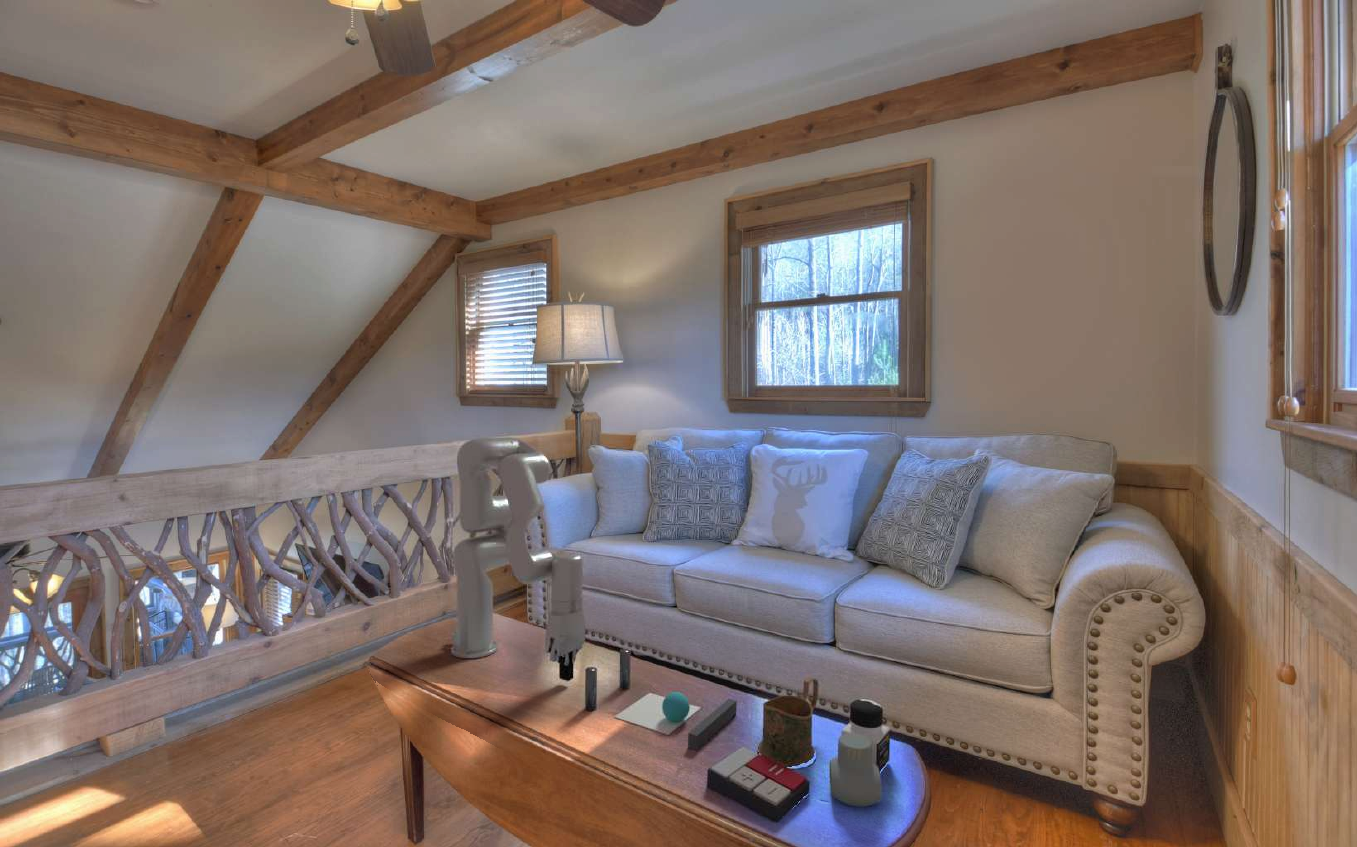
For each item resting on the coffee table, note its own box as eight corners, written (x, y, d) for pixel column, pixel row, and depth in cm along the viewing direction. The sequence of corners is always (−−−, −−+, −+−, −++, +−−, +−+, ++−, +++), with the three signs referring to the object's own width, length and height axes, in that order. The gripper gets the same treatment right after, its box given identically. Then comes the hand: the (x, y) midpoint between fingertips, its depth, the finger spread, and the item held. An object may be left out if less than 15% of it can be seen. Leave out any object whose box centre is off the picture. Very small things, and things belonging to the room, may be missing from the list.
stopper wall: (688, 747, 129) (688, 732, 129) (728, 711, 144) (728, 698, 144) (696, 750, 128) (696, 735, 128) (736, 714, 143) (736, 700, 143)
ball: (674, 732, 136) (653, 714, 139) (688, 721, 142) (667, 703, 144) (684, 709, 135) (663, 691, 138) (698, 699, 140) (677, 682, 143)
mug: (840, 739, 133) (841, 682, 132) (797, 776, 119) (798, 712, 119) (791, 721, 140) (792, 667, 140) (746, 754, 127) (747, 694, 126)
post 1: (582, 709, 144) (582, 669, 144) (589, 704, 147) (590, 666, 146) (591, 712, 143) (591, 672, 143) (598, 707, 145) (599, 668, 145)
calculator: (777, 804, 105) (706, 765, 115) (775, 829, 106) (705, 788, 116) (811, 776, 114) (742, 741, 124) (809, 799, 114) (741, 763, 124)
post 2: (617, 687, 156) (617, 651, 155) (623, 684, 158) (624, 647, 158) (626, 690, 154) (626, 653, 154) (632, 686, 156) (632, 650, 156)
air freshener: (828, 776, 119) (829, 723, 119) (874, 781, 118) (875, 727, 118) (832, 812, 109) (833, 754, 108) (882, 818, 107) (883, 759, 107)
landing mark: (614, 717, 141) (614, 716, 141) (649, 693, 153) (649, 692, 153) (668, 735, 133) (668, 734, 133) (700, 708, 145) (700, 707, 145)
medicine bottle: (876, 780, 118) (878, 716, 118) (840, 766, 123) (841, 704, 122) (889, 763, 124) (891, 702, 124) (854, 751, 128) (855, 691, 128)
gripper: (575, 594, 165) (574, 665, 165) (533, 610, 152) (533, 686, 153) (598, 599, 161) (597, 671, 161) (557, 615, 148) (557, 693, 149)
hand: (566, 678), depth 157 cm, fingers closed
